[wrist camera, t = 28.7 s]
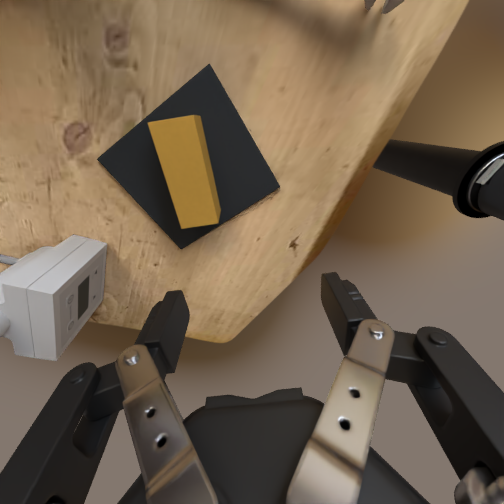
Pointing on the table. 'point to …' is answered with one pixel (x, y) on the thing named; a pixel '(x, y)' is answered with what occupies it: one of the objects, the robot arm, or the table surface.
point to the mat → (220, 153)
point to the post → (187, 169)
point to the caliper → (389, 5)
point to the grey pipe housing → (51, 295)
